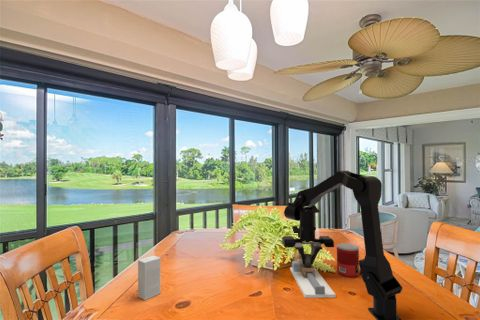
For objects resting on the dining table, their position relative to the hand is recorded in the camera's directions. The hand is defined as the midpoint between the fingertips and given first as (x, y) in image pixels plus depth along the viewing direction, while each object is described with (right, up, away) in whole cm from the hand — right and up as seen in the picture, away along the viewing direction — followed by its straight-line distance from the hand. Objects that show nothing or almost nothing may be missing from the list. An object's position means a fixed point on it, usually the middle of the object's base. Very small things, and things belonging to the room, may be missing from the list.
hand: (307, 264), depth 100 cm
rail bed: (0, -5, -4) cm, 6 cm away
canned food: (+17, -6, +4) cm, 18 cm away
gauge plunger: (-2, 0, +5) cm, 5 cm away
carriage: (0, -4, 0) cm, 4 cm away
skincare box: (-56, -5, -14) cm, 58 cm away
